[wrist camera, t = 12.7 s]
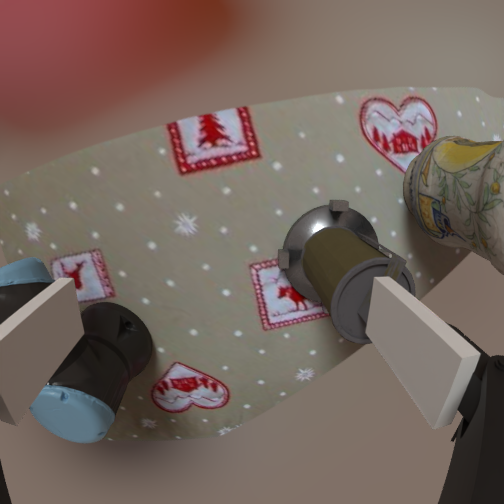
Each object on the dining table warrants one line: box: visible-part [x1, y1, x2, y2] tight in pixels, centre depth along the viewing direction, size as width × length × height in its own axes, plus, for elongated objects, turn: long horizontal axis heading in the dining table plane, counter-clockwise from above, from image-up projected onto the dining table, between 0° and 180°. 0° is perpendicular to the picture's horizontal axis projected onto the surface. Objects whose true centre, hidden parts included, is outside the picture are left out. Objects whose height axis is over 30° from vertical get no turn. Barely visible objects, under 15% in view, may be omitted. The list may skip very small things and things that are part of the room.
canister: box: [301, 226, 415, 344], centre depth 40 cm, size 11×10×20 cm
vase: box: [403, 136, 504, 275], centre depth 35 cm, size 18×18×30 cm
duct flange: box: [278, 200, 389, 313], centre depth 50 cm, size 18×18×4 cm
